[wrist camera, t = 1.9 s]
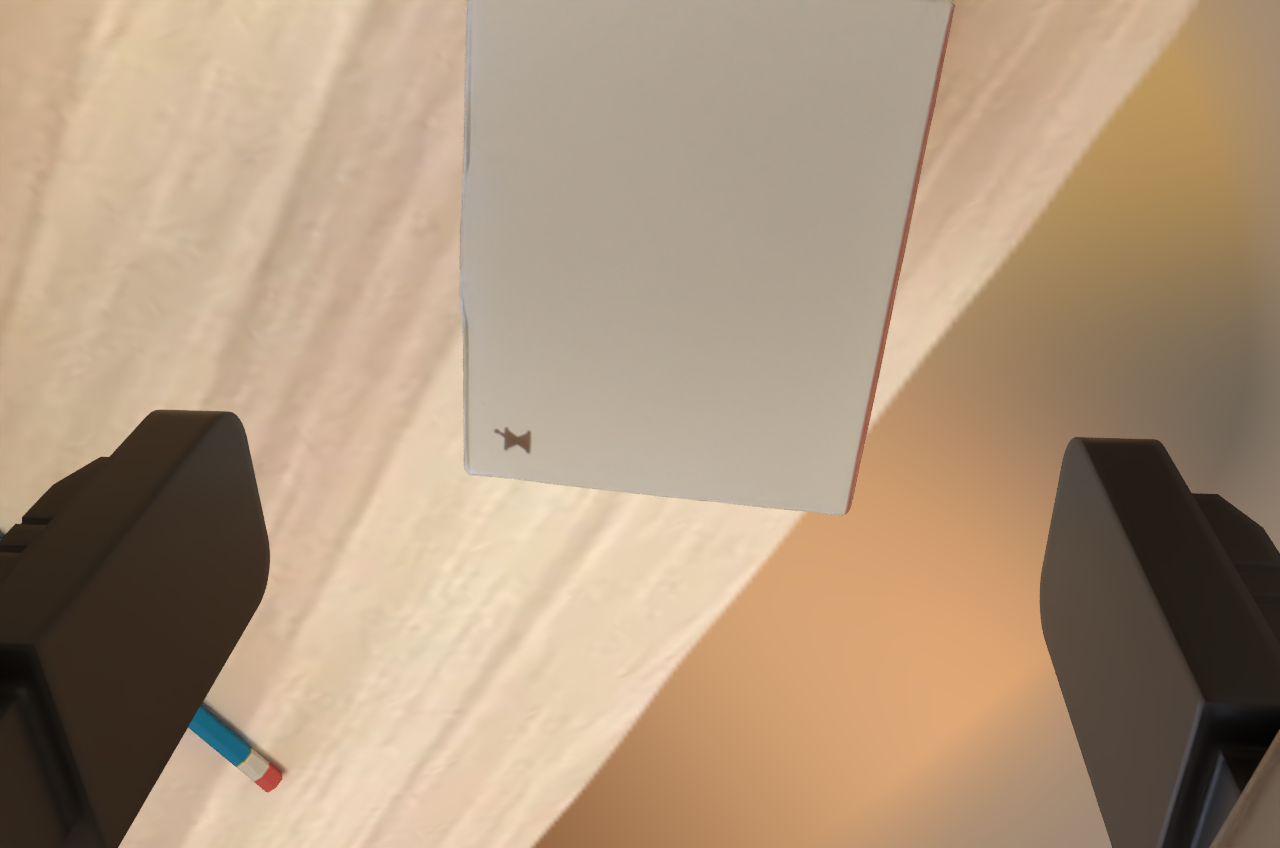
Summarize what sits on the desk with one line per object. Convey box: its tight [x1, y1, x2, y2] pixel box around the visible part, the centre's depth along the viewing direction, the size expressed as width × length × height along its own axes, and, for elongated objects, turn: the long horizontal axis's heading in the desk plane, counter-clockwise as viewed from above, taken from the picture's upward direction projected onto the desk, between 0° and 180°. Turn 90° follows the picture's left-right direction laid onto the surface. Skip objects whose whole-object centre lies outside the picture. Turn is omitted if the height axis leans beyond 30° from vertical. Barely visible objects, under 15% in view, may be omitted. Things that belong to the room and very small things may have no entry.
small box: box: [460, 0, 955, 516], centre depth 22 cm, size 8×6×13 cm
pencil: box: [0, 537, 282, 792], centre depth 38 cm, size 1×17×1 cm, turn 39°
